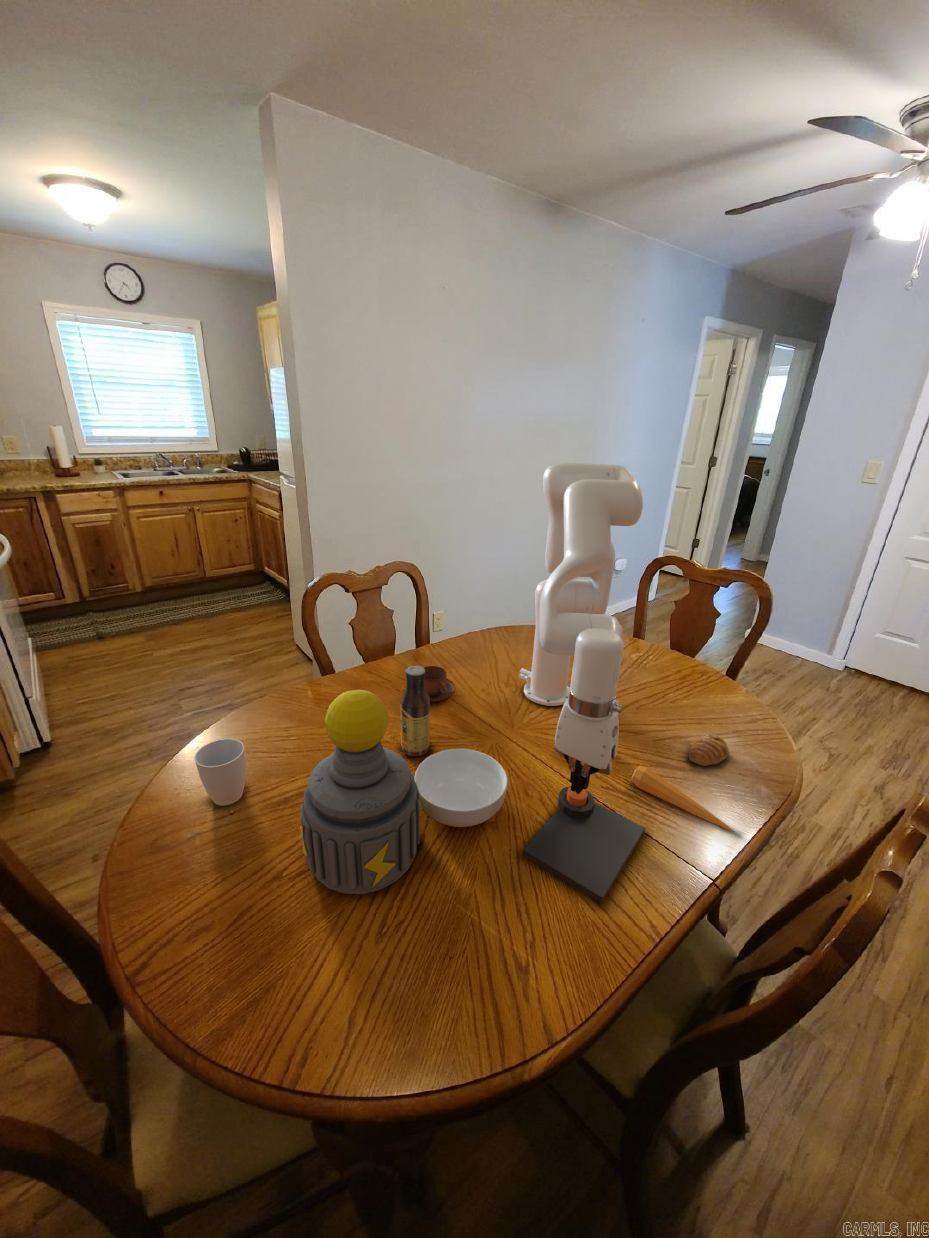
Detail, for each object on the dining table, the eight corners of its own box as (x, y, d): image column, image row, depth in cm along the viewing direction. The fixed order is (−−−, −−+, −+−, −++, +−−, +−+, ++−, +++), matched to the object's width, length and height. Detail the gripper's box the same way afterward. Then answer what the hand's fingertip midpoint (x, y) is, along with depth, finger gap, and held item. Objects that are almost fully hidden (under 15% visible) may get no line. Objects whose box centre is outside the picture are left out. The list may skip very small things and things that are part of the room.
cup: (260, 787, 96) (253, 744, 92) (229, 816, 89) (220, 771, 85) (226, 777, 98) (218, 734, 95) (193, 804, 91) (183, 760, 88)
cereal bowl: (437, 855, 83) (437, 822, 80) (401, 792, 96) (400, 762, 93) (522, 822, 90) (525, 791, 87) (478, 767, 104) (479, 739, 101)
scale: (516, 851, 84) (517, 838, 83) (567, 793, 97) (568, 781, 96) (601, 904, 75) (604, 890, 74) (644, 832, 89) (647, 819, 88)
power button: (563, 800, 92) (564, 793, 91) (572, 790, 94) (573, 782, 94) (581, 809, 90) (582, 802, 89) (589, 799, 92) (590, 791, 92)
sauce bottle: (401, 741, 111) (400, 661, 104) (429, 740, 112) (430, 661, 104) (400, 759, 105) (398, 676, 97) (430, 759, 106) (431, 676, 98)
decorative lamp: (398, 796, 95) (395, 655, 84) (439, 872, 80) (442, 711, 68) (295, 828, 87) (276, 677, 75) (319, 920, 71) (299, 747, 60)
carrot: (627, 786, 101) (628, 774, 98) (638, 770, 103) (639, 758, 100) (729, 848, 89) (735, 838, 86) (740, 829, 91) (745, 817, 88)
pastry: (709, 773, 104) (713, 758, 103) (679, 757, 109) (682, 742, 108) (730, 756, 110) (734, 742, 108) (700, 742, 114) (704, 727, 113)
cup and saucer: (463, 690, 132) (464, 670, 130) (437, 711, 123) (437, 689, 120) (427, 677, 138) (427, 657, 136) (399, 696, 129) (399, 675, 126)
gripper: (643, 707, 83) (625, 796, 89) (562, 678, 91) (552, 761, 98) (625, 727, 77) (608, 819, 84) (541, 694, 85) (532, 780, 92)
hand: (578, 788), depth 91 cm, fingers closed
